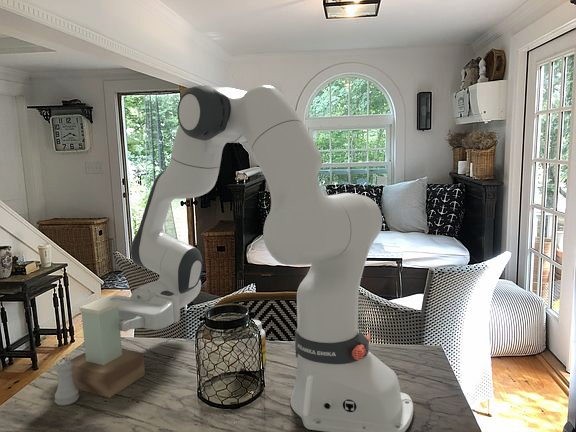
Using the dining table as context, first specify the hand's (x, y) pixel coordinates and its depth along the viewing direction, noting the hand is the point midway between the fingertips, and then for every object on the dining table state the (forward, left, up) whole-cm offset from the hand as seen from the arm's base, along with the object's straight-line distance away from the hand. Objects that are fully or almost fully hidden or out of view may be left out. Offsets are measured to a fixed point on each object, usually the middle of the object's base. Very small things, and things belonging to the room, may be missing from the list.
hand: (103, 324), depth 98 cm
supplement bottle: (-26, -16, -12) cm, 33 cm away
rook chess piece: (+1, +10, -12) cm, 16 cm away
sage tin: (0, +1, -7) cm, 7 cm away
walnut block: (0, +1, -12) cm, 12 cm away
